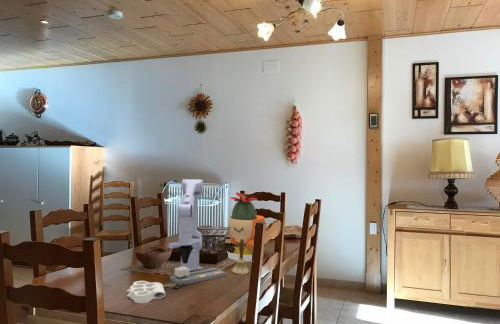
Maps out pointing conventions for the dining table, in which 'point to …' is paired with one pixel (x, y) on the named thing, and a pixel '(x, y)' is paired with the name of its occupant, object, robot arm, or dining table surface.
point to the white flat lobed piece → (146, 291)
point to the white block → (182, 272)
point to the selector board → (198, 276)
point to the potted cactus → (243, 226)
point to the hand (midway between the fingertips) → (184, 263)
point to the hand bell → (240, 261)
